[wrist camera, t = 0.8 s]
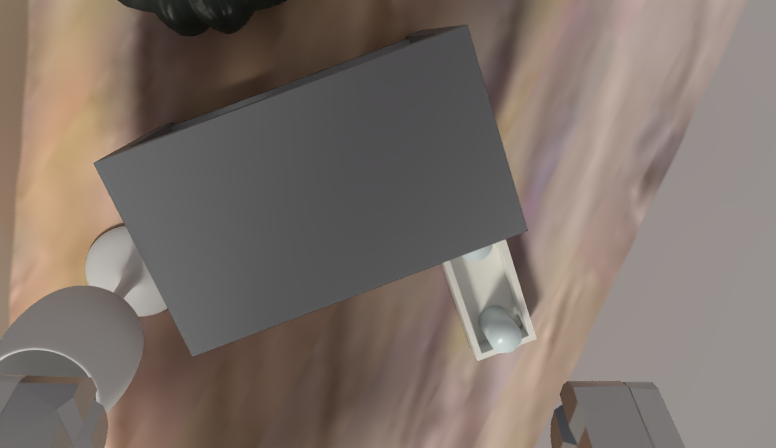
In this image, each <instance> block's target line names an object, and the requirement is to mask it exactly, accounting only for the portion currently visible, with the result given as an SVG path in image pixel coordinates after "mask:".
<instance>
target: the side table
mask: <svg viewBox="0 0 776 448" xmlns="http://www.w3.org/2000/svg"><path fill="white" fill-rule="evenodd" d="M94 165H95V167H96V169H97V171H98V173H99V175H100V177H101V179H102V181H103V183H104V185H105V187H106V189H107V191H108V193H109V195H110V197H111V199H112V201H113V203H114V204H115V206H116V208H117V210H118V212H119V214H120V216H121V218H122V220H123V222H124V224H125V226H126V228H127V230H128V232H129V234H130V236H131V238H132V240H133V242H134V244H135V246H136V248H137V250H138V251H139V253H140V255H141V257H142V259H143V261H144V263H145V265H146V267H147V269H148V271H149V273H150V275H151V277H152V279H153V281H154V283H155V285H156V287H157V289H158V291H159V293H160V295H161V296H162V298H163V300H164V302H165V304H166V306H167V308H168V310H169V312H170V314H171V316H172V318H173V320H174V322H175V324H176V326H177V328H178V330H179V332H180V334H181V336H182V338H183V340H184V341H185V343H186V345H187V347H188V349H189V351H190V353H191V355H192V357H194V356H196V355H199V354H202V353H204V352H207V351H210V350H212V349H215V348H218V347H220V346H223V345H226V344H228V343H231V342H234V341H236V340H239V339H242V338H244V337H247V336H250V335H252V334H255V333H258V332H260V331H263V330H266V329H268V328H271V327H274V326H276V325H279V324H282V323H284V322H287V321H289V320H292V319H295V318H297V317H300V316H303V315H305V314H308V313H311V312H313V311H316V310H319V309H321V308H324V307H327V306H329V305H332V304H335V303H337V302H340V301H343V300H345V299H348V298H351V297H353V296H356V295H359V294H361V293H364V292H367V291H369V290H372V289H375V288H377V287H380V286H383V285H385V284H388V283H391V282H393V281H396V280H399V279H401V278H404V277H407V276H409V275H412V274H415V273H417V272H420V271H423V270H425V269H428V268H431V267H433V266H436V265H439V264H441V263H444V262H446V261H449V260H452V259H454V258H457V257H460V256H462V255H465V254H468V253H470V252H473V251H476V250H478V249H481V248H484V247H486V246H489V245H492V244H494V243H497V242H500V241H502V240H505V239H508V238H510V237H513V236H516V235H518V234H521V233H524V232H526V231H528V230H527V226H526V223H525V219H524V216H523V213H522V209H521V206H520V202H519V199H518V196H517V192H516V189H515V185H514V182H513V179H512V175H511V172H510V168H509V165H508V162H507V158H506V155H505V151H504V148H503V145H502V141H501V138H500V134H499V131H498V128H497V124H496V121H495V117H494V114H493V111H492V107H491V104H490V100H489V97H488V94H487V90H486V87H485V83H484V80H483V77H482V73H481V70H480V66H479V63H478V60H477V56H476V53H475V49H474V46H473V43H472V39H471V36H470V32H469V29H468V26H467V25H462V26H454V27H445V28H437V29H429V30H421V31H419V32H416V33H413V34H411V35H408V36H406V40H403V41H400V42H398V43H395V44H392V45H390V46H387V47H384V48H382V49H379V50H376V51H373V52H371V53H368V54H365V55H363V56H360V57H357V58H354V59H352V60H349V61H346V62H344V63H341V64H338V65H335V66H333V67H330V68H327V69H325V70H322V71H319V72H317V73H314V74H311V75H308V76H306V77H303V78H300V79H298V80H295V81H292V82H289V83H287V84H284V85H281V86H279V87H276V88H273V89H271V90H268V91H265V92H262V93H260V94H257V95H254V96H252V97H249V98H246V99H243V100H241V101H238V102H235V103H233V104H230V105H227V106H225V107H222V108H219V109H216V110H214V111H211V112H208V113H206V114H203V115H200V116H197V117H195V118H192V119H189V120H187V121H184V122H181V123H178V124H176V125H174V123H173V122H172V123H170V124H167V125H164V126H162V127H159V128H156V129H154V130H153V131H151V132H149V133H147V134H145V135H143V136H142V137H140V138H138V139H136V140H134V141H133V142H131V143H129V144H127V145H125V146H123V147H122V148H120V149H118V150H116V151H114V152H113V153H111V154H109V155H107V156H105V157H103V158H102V159H100V160H98V161H96V162H94Z"/></svg>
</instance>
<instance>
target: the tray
mask: <svg viewBox="0 0 776 448" xmlns="http://www.w3.org/2000/svg"><path fill="white" fill-rule="evenodd" d="M441 265H442V268H443V271H444V274H445V277H446V280H447V282H448V285H449V288H450V291H451V294H452V297H453V300H454V303H455V305H456V308H457V311H458V314H459V317H460V320H461V323H462V326H463V329H464V331H465V334H466V337H467V340H468V343H469V346H470V348H471V350H472V352H473V354H474V356H475V357H476V359H477V361H479V360H482V359H485V358H487V357H490V356H493V355H495V354H498V353H509V352H512V351H514V350H515V349H516V348H517V347H518V346H519V345H522V344H524V343H527V342H530V341H532V340H535V339H536V336H535V333H534V329H533V326H532V323H531V320H530V316H529V313H528V310H527V307H526V303H525V300H524V297H523V294H522V290H521V287H520V284H519V281H518V277H517V274H516V271H515V268H514V264H513V261H512V258H511V255H510V251H509V248H508V245H507V242H506V239H505V240H502V241H500V242H497V243H494V244H492V245H489V246H486V247H484V248H481V249H478V250H476V251H473V252H470V253H468V254H465V255H462V256H460V257H457V258H454V259H452V260H449V261H446V262H444V263H441Z"/></svg>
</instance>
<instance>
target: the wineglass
mask: <svg viewBox="0 0 776 448" xmlns="http://www.w3.org/2000/svg"><path fill="white" fill-rule="evenodd" d="M85 274H86V279H87V282H88V285H89V286H72V287H67V288H63V289H60V290H57V291H55V292H52V293H51V294H49V295H47V296H45V297H43V298H42V299H40V300H39V301H37V302H36V303H34V304H33V305H32V306H31V307H29V308H28V309H27V310H26V311H25V312H24V313H22V314H21V315H20V316H19V317H18V318H17V319H16V321H15V322H14V323H13V324H12V325H11V326H10V327H9V329H8V330H7V331H6V333H5V334H4V335H3V337H2V339H1V340H0V375H32V376H62V377H91V378H92V379H93V381H94V383H95V386H96V388H97V392H96V394H95V397H94V400H95V401H97V402H98V403H100V404H101V405H103V406H104V409H105V411H106V414H107V413H108V411H109V410H110V409H111V408H112V407H113V406H114V405H115V404H116V403H117V401H118V400H119V399H120V398H121V396H122V395H123V394H124V392H125V391H126V389H127V388H128V386H129V385H130V383H131V381H132V379H133V377H134V375H135V373H136V371H137V369H138V366H139V364H140V361H141V358H142V354H143V348H144V333H143V328H142V325H141V322H140V319H139V317H141V316H150V315H154V314H157V313H160V312H162V311H164V310H166V309H167V306H166V304H165V302H164V300H163V298H162V296H161V295H160V293H159V291H158V289H157V287H156V285H155V283H154V281H153V279H152V277H151V275H150V273H149V271H148V269H147V267H146V265H145V263H144V261H143V259H142V257H141V255H140V253H139V251H138V250H137V248H136V246H135V244H134V242H133V240H132V238H131V236H130V234H129V232H128V230H127V228H126V226H120V227H117V228H114V229H111V230H109V231H107V232H106V233H104V234H103V235H101V236H100V237H99V238H98V239H97V240H96V241H95V242H94V243H93V245H92V246H91V248H90V249H89V252H88V254H87V257H86V262H85Z"/></svg>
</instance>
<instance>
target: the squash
mask: <svg viewBox="0 0 776 448" xmlns="http://www.w3.org/2000/svg"><path fill="white" fill-rule="evenodd" d="M118 1H119V2H121V3H122V4H123V5H125V6H127V7H130V8H134V9H138V10H142V11H147V12H153V13H155V14H156V15H157V16H158V17H159V19H161V20H162V21H163V22H164V23H165V24H166V25H167V26H168V27H169V28H171V29H172V30H174V31H176V32H177V33H178V34H180V35H182V36H196V35H199V34H201V33H203V32H204V31H206V30H207V29H208V28H209V27H212V28H214V29H216V30H218V31H220V32H223V33H227V34H230V33H234V32H237V31H238V30H240V29H241V28H242V27H243V26H244V25H245V24H246V23H247V22H248V20H249V19H250V17H251V16H252V14H253V12H254V11H256V10H260V9H265V8H270V7H272V6H276V5H279V4H281V3H283V2H285V1H286V0H118Z"/></svg>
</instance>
